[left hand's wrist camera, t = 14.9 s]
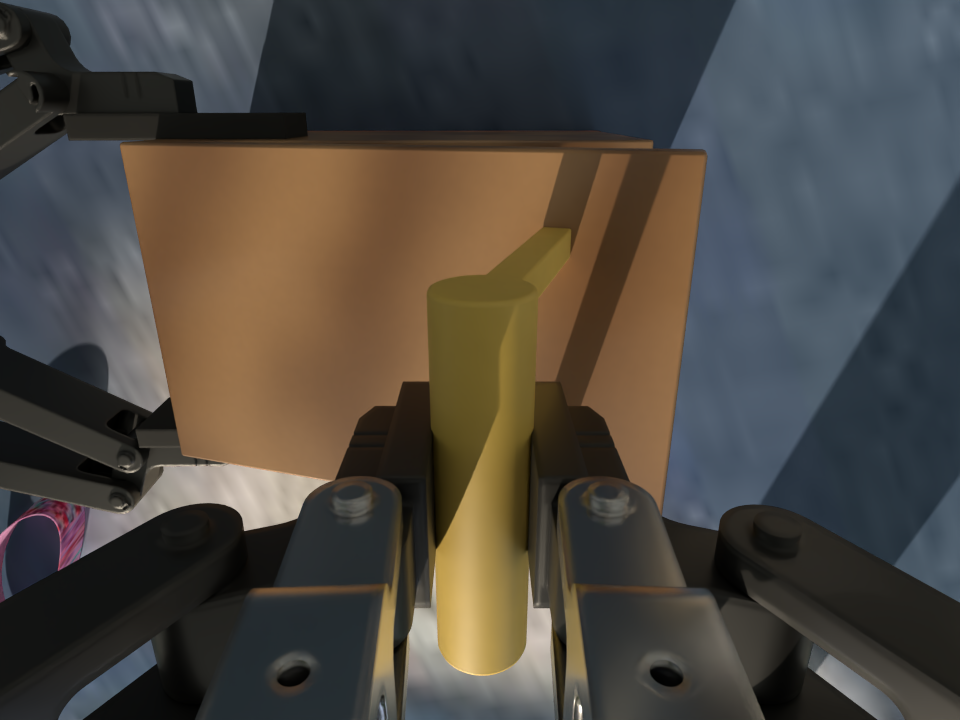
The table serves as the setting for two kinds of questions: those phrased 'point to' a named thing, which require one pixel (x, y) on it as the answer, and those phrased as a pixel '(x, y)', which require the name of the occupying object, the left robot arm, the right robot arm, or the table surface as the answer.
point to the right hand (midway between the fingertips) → (312, 286)
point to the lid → (422, 320)
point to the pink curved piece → (67, 522)
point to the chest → (459, 138)
